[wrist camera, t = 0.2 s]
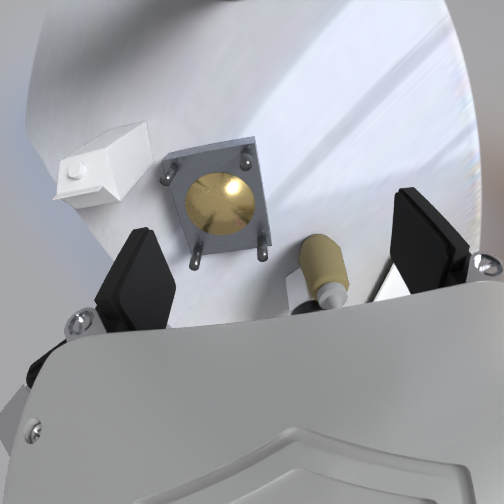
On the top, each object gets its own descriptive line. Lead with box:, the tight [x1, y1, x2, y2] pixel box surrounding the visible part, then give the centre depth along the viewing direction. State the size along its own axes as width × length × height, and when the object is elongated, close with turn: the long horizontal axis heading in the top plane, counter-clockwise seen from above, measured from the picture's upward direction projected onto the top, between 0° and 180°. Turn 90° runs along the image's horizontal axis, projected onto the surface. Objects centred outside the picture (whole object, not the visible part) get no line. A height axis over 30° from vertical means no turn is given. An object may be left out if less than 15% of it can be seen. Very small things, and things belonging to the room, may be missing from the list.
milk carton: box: [52, 122, 154, 209], centre depth 36 cm, size 7×7×19 cm
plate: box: [373, 263, 411, 302], centre depth 62 cm, size 19×19×2 cm
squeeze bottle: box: [299, 234, 349, 310], centre depth 48 cm, size 8×8×18 cm
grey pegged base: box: [160, 136, 272, 271], centre depth 46 cm, size 18×14×9 cm
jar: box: [285, 267, 327, 315], centre depth 56 cm, size 9×8×12 cm
